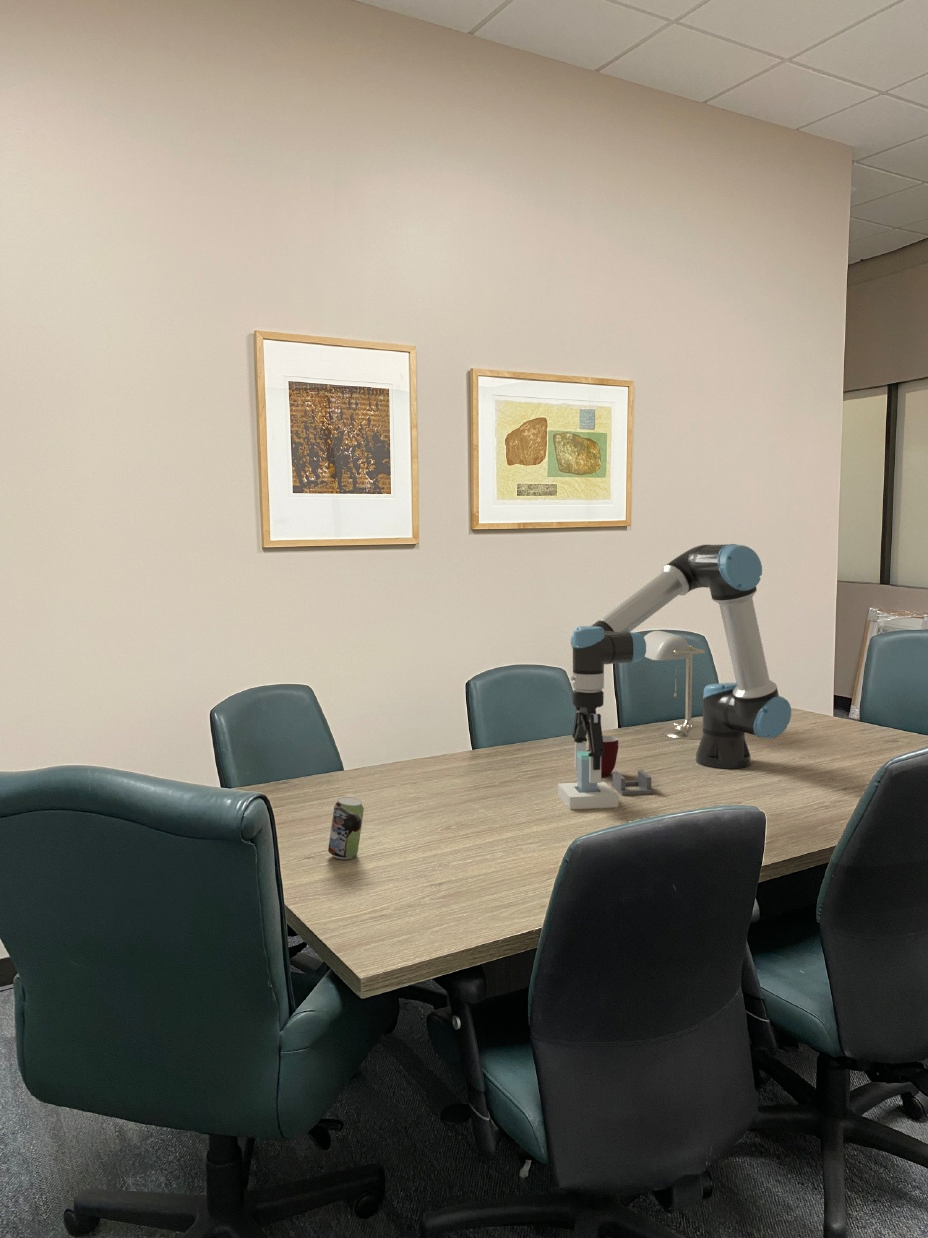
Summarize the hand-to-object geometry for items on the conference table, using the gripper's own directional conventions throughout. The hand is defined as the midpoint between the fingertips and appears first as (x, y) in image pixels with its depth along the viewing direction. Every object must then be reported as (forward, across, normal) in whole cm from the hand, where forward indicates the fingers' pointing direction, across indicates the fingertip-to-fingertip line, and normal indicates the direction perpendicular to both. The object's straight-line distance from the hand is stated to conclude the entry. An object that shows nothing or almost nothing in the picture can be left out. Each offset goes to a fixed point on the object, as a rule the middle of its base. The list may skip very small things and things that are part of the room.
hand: (587, 775), depth 216 cm
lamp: (+7, -70, +51) cm, 86 cm away
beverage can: (+7, +30, -59) cm, 67 cm away
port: (+7, 0, 0) cm, 7 cm away
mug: (+7, -23, +10) cm, 26 cm away
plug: (+7, 0, 0) cm, 7 cm away
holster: (+7, -8, +14) cm, 17 cm away
